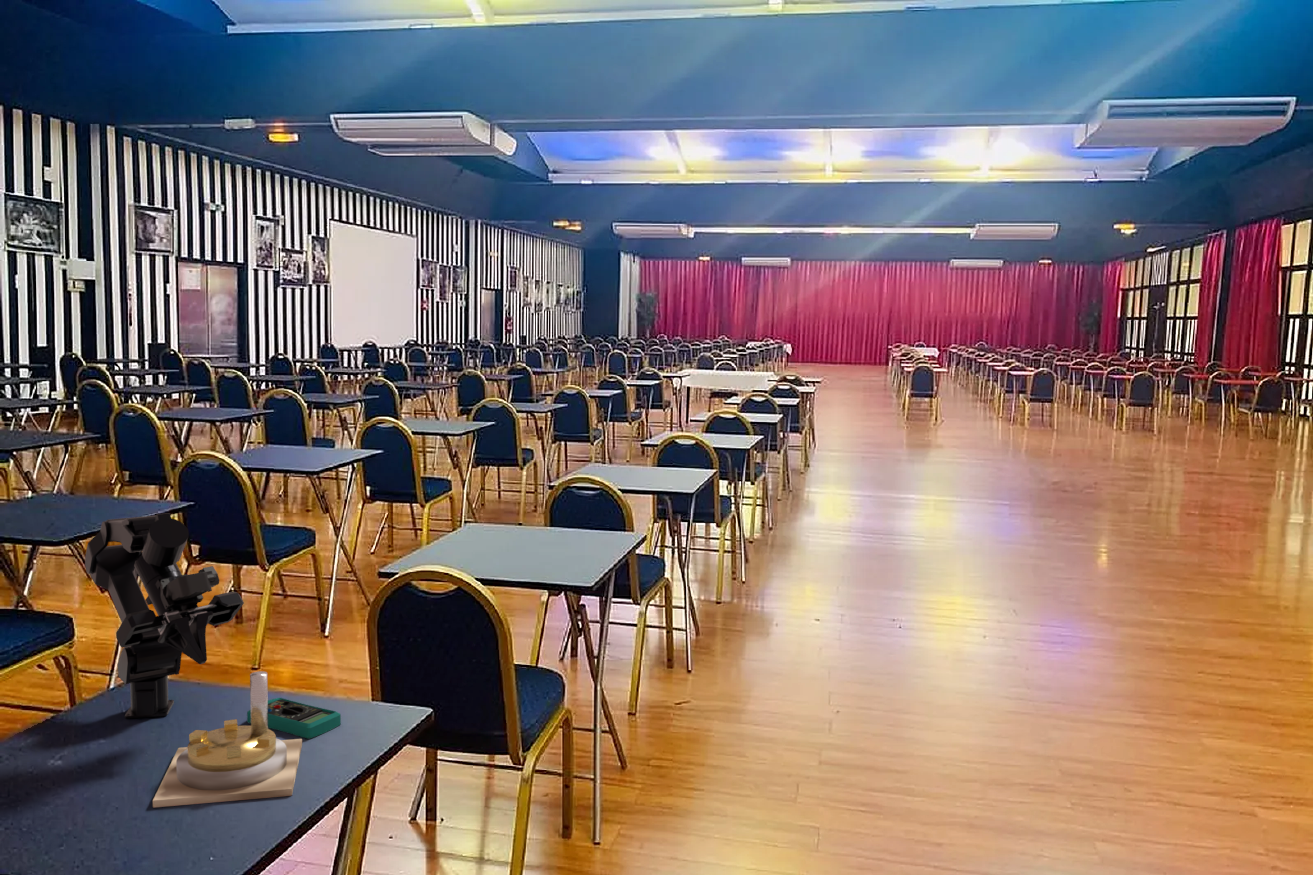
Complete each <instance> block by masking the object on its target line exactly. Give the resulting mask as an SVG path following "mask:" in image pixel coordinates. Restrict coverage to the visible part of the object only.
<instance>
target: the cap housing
mask: <svg viewBox="0 0 1313 875" xmlns="http://www.w3.org/2000/svg"><path fill="white" fill-rule="evenodd" d="M187 747H188V746H184V747H178V748H177V750H176V752H175V754H174V756H173V758H172V759H171V763H170V764H169V767H168V768H167V770H166V773H165V775H164V776H163V779H162V781H161V783H160V785H159V787H158V789H157V791H156V793H155V795H154V797H153V799H152V808H162V807H163V808H164V807H174V806H175V807H176V806H186V805H187V806H188V805H198V804H208V803H210V804H211V803H221V802H235V801H245V800H256V799H257V800H258V799H266V798H267V799H268V798H277V797H278V798H279V797H290V796H293V792H294V786H295V783H296V782H295V781H296V777H297V773H298V772H297V771H298V768H299V762H300V757H301V753H302V747H303V739H302V738H294V739H279V738H277V737H276V752H275V754H274V755H273V756H272V757H271V758H270V759H268V760H267V761H265V762H263V763H261V764H259V765H256V766H253V767H250V768H246V769H241V770H236V771H228V772H208V771H202V770H198V769H195V768H193V767H192V766H190V765H189V763H188V748H187Z"/></svg>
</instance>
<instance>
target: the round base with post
mask: <svg viewBox="0 0 1313 875" xmlns="http://www.w3.org/2000/svg"><path fill="white" fill-rule="evenodd" d="M249 683H250V684H249V686H250V688H249V689H250V709H251V723H250V725H238V719H229V720H223V727H220V728H216V729H212V730H209V731H208V730H202V729H201V730H200V729H195V730H193V731H192V732H190V733H189V735H188V740H189V742H188V744H187V746H186V747H187V748H188V763H189V765H190V766H192V767H193V768H195V769H198V770H202V771H208V772H228V771H236V770H241V769H246V768H250V767H253V766H256V765H259V764H261V763H263V762H265V761H267V760H268V759H270V758H271V757H272V756H273V755H274V754H275V752H276V738H277V736H276V734H275V731H273V730H271V728H268V700H269V699H268V698H269V697H268V694H269V692H268V690H269V689H268V672H267V671H264V670H263V671H261V670H260V671H253V672H251V673H250V674H249Z"/></svg>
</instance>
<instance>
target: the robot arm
mask: <svg viewBox="0 0 1313 875" xmlns="http://www.w3.org/2000/svg"><path fill="white" fill-rule="evenodd" d="M189 532H190V531H189V529H188V527H187V526H186V525H185V524H184V523H183V522H181V521H180V520H178V519H174V518H172V515H171V513H170V512H165V513H157V514H156V515H155V514H154V515H145V516H135V517H134V516H133V517H122V518H121V517H120V518H109V519H107V520H104V521H102V522H101V526H100V531H98V532H97V533H96V535H94V536H93V537H92V538H91V539H90V540H89V541H88V542H87V546H86V552H85V556H84V557H85V558H84V566H85V572H86V573H87V574H88V575H90V578H91V579H92V580H93V582H94V585H96V586H99V587H101V588H103V589H106V590H108V592H109V594H110V596H111V597H110V598H111V599H112V600H111V601H112V602H113V604H114V607H115V609H116V612H117V615H118V617H119V619H120V621H121V624H120V626H119V627H118V628H117V630H116V632H115V635H116V636H115V638H116V641H117V643H118V645H119V646H120V648H122V650H121V653H120V656H119V658H118V662H117V663H116V664H117V667H116V668H117V673H118V678H119V680H121V681H122V683H124V684H125V685H130V686H129V687H130V690H129V691H130V707H129V708H128V710H127V711H126V712H125V715H124V719H137V718H138V719H139V718H153V717H167V716H168V715H169V713H170V711H171V709H172V708H173V706H174V703H175V701H174V699H169V680H168V679H169V677H168V676H174V675H176V676H177V675H180V670H181V664H182V653H183V654H184V655H185V656H187V657H188V658H190V659H191V660H192V661H194V662H195V663H197V664H199V665H203V664H206V662H207V660H208V655H207V641H206V636H207V635H206V632H207V631H206V630H207V626H208V625H211V626H214V627H215V626H219V625H223V624H227V623H229V622H231V621H232V620H233V619H234V618H235V616H236V615H237V613H238V612H239V610H240V609H241V608H242V607H243V605H244V604H245V602H244V600H243V598H242V596H241V595H240V594H239V592H236V591H230V592H225V593H220V594H219V593H218V594H214V596H213V597H212V599H211V600H210V601H209V603H207V605H202V606H199V605H198V603H201V602H202V601H203V600H204V596H203V595H204V594H206V593H209V592H212V590H213V588H214V587H216V586H218V585H219V584H220V577H219V574H218V571H217V570H216V569H215V567H214V566H212V565H211V566H205V567H202V569H199V570H198V572H196V573H195V572H194V573H191V574H190V573H189V574H187V573H186V574H185V573H184V574H182V572H181V570H180V568H179V566H178V564H177V563H178V562H179V561H180V560H181V557H182V555H183V554H184V553H183V552H184V549H185V547H186V544H187V541H188V539H189V535H190V534H189ZM113 542H115V543H121V544H117V545H109V543H113ZM137 577H138V578H139V579H140V582H141V583H142V585H143V587H144V589H145V592H146V594H147V597H146V599H145V596H144V593H143V590H142V589H141V586H140V585H139V582H138V580H137ZM150 605H152V606H153V608H154V610H152V609H150V607H149V606H150ZM155 612H156V613H155ZM156 614H157V615H156Z"/></svg>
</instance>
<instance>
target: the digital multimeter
mask: <svg viewBox="0 0 1313 875" xmlns="http://www.w3.org/2000/svg"><path fill="white" fill-rule="evenodd" d="M246 716H247V717H246V719H247V721H246V722H247V723H248V724H251V708H250V709H249V710H248V711H247V713H246ZM341 717H342V716H341V713H340V712H338V711H336V710H330V709H328V708H322V707H319V706H318V707H317V706H313V705H310V704H305V703H302V702H298V701H294V700H290V699H286V698H282V697H277V698H271V699H268V729H270V730H271V729H272V730H276V731H280V732H283V733H288V734H291V735H292V736H293V735H294V736H296V737H297V736H298V737H301V738H304V739H308V740H310V739H313V738H316V737H318V736H320V735H323V734H325V733H328V732H329V731H331V730H333V729H335V728H337V727H339V726H341V725H342V724H341V723H342V722H341V721H342V720H341V719H342V718H341Z"/></svg>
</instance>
